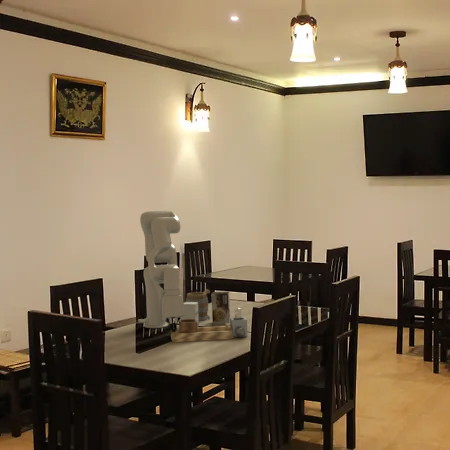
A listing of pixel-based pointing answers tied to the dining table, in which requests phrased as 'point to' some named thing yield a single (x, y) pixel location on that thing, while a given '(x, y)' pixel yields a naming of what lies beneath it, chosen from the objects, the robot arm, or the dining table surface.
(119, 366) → the dining table surface
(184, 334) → the tray
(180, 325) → the crate
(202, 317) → the tankard
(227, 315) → the coffee box
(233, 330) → the grey hollow block
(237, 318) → the pin
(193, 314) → the supplement box
